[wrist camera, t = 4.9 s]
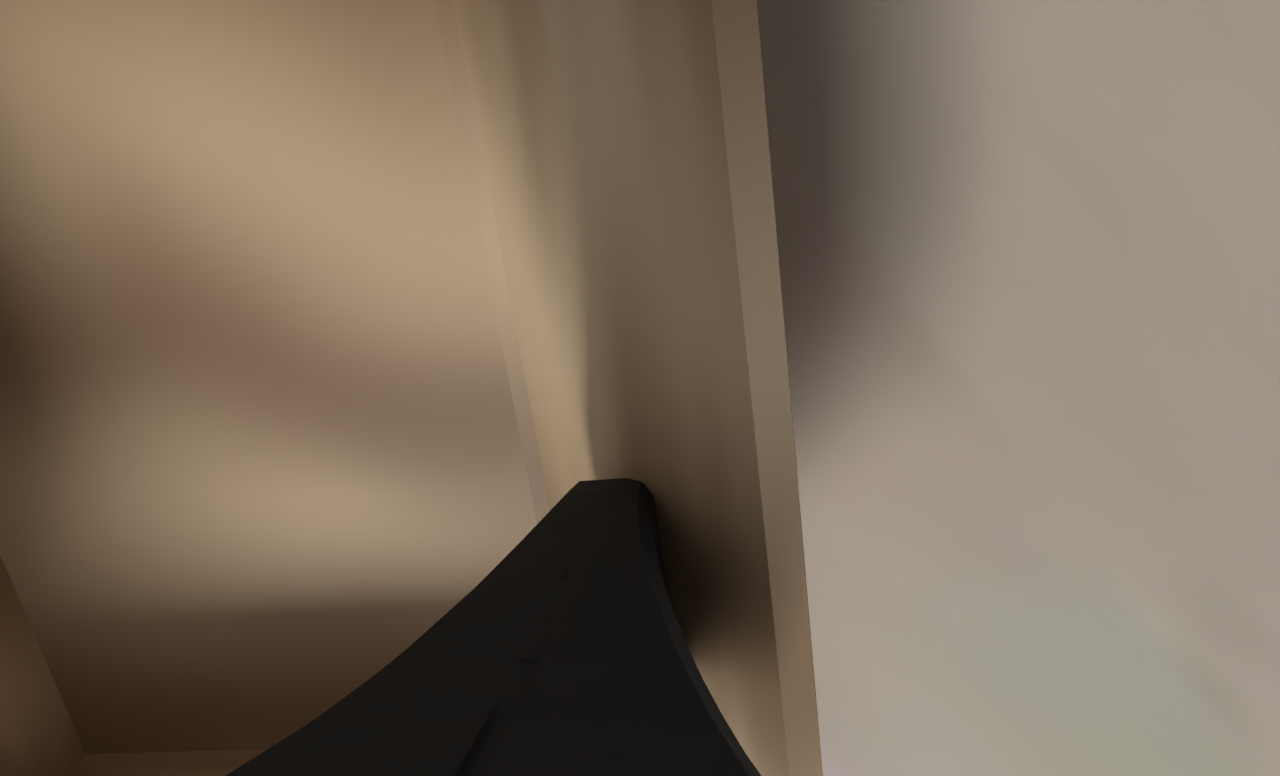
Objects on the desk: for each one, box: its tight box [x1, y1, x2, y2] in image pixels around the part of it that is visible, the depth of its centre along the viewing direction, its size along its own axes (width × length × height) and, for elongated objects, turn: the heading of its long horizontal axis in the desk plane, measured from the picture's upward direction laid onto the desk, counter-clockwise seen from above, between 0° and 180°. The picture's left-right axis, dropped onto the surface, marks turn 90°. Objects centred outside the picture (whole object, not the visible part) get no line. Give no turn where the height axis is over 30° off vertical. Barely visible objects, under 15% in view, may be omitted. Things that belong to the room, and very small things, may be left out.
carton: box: [0, 0, 550, 776], centre depth 16 cm, size 17×12×4 cm
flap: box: [453, 0, 823, 776], centre depth 11 cm, size 15×1×4 cm
